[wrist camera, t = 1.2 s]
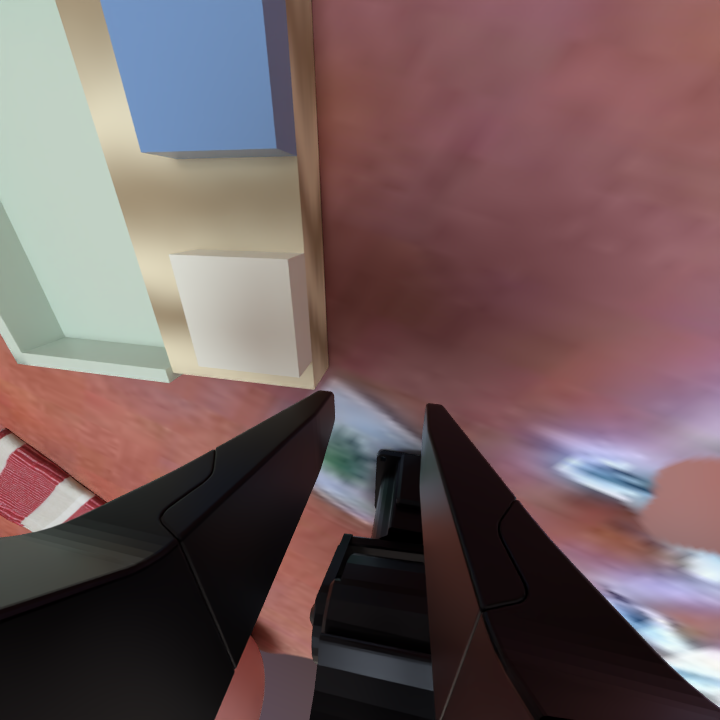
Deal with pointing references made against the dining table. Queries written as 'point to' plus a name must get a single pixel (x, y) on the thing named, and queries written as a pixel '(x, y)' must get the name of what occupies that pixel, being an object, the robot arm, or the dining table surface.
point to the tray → (63, 217)
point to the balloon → (245, 687)
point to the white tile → (246, 309)
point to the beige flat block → (209, 191)
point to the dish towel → (38, 488)
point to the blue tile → (205, 76)
